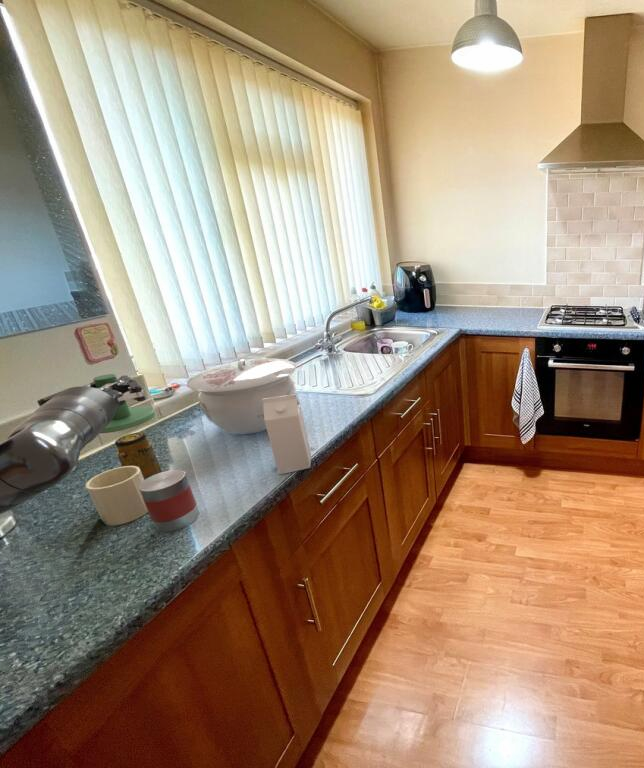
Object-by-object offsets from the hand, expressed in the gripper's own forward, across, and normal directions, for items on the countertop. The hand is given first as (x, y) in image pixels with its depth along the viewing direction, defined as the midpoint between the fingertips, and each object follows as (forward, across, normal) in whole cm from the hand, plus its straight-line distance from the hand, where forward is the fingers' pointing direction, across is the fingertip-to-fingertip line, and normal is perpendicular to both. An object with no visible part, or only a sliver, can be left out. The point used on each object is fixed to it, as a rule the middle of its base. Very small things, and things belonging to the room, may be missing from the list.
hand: (114, 382), depth 76 cm
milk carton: (+6, -25, +30) cm, 40 cm away
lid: (-3, 0, +7) cm, 8 cm away
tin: (-6, -3, +30) cm, 30 cm away
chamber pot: (+37, -15, +30) cm, 50 cm away
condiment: (+14, +6, +30) cm, 34 cm away
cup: (+2, +7, +30) cm, 31 cm away
